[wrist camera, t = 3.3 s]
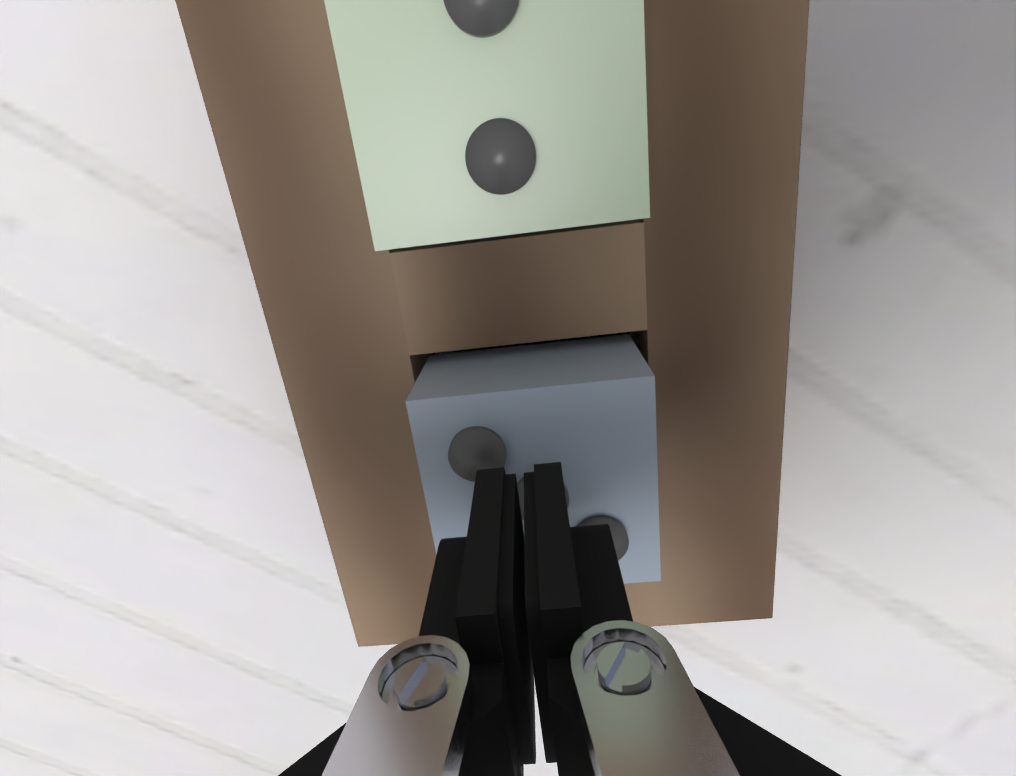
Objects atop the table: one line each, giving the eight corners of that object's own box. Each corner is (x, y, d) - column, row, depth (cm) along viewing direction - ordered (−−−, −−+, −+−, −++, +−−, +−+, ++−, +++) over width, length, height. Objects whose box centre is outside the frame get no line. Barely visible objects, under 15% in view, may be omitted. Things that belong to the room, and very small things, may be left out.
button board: (791, -1010, 8) (898, -1479, 6) (740, 560, 18) (772, 618, 16) (27, -797, 9) (-145, -1131, 7) (379, 588, 19) (358, 647, 17)
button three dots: (629, 334, 14) (656, 379, 11) (636, 507, 16) (662, 587, 13) (429, 355, 14) (403, 405, 11) (459, 522, 16) (443, 603, 13)
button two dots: (610, -60, 11) (641, -146, 8) (623, 207, 13) (652, 218, 10) (361, -20, 11) (302, -88, 8) (407, 233, 13) (372, 252, 10)
